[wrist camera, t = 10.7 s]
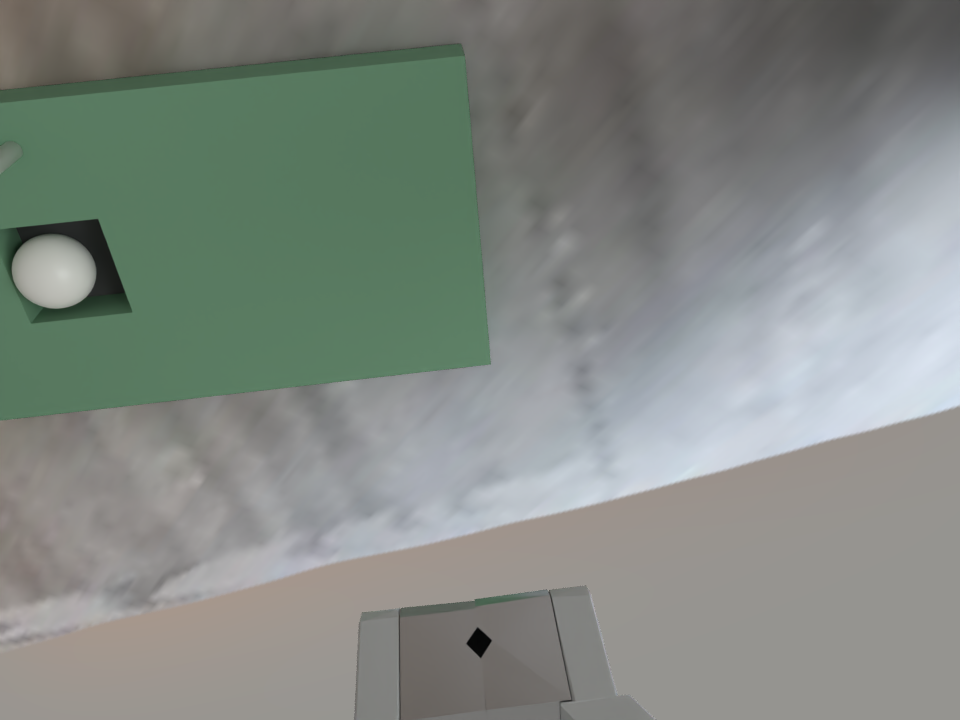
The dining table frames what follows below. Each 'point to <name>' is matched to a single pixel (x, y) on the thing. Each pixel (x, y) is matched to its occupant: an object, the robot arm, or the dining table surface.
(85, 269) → the ball
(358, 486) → the dining table surface
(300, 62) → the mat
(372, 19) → the dining table surface
